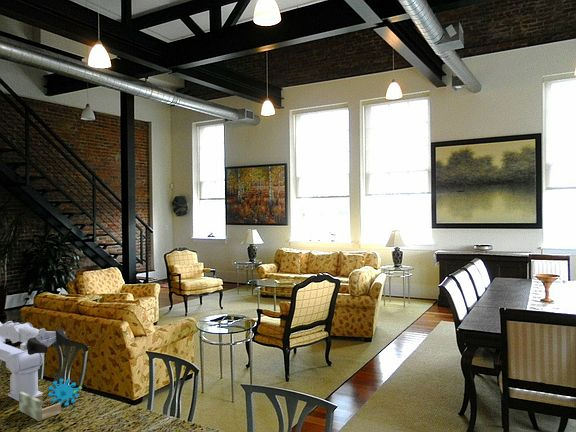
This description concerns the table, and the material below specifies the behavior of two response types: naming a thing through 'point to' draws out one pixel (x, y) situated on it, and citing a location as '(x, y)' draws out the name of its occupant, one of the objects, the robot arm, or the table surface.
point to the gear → (64, 392)
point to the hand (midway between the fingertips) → (57, 345)
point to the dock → (36, 407)
